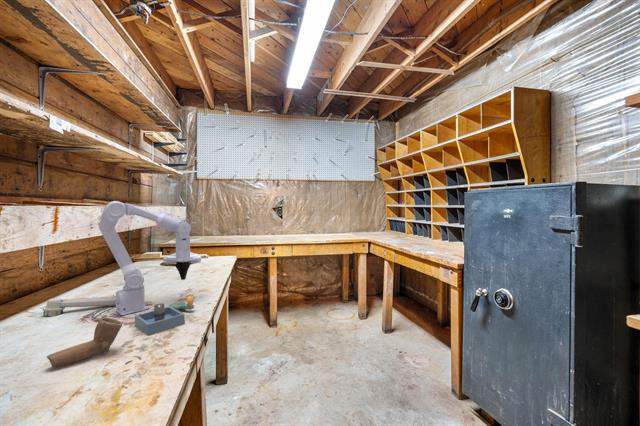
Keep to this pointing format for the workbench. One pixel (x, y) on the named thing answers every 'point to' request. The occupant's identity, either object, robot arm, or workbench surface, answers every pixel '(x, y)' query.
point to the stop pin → (159, 312)
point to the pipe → (89, 344)
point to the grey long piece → (76, 304)
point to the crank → (183, 304)
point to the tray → (151, 327)
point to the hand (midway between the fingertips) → (183, 279)
